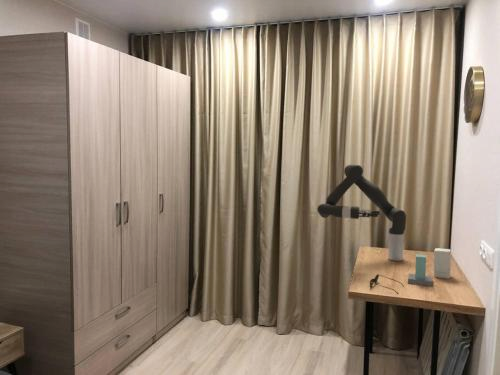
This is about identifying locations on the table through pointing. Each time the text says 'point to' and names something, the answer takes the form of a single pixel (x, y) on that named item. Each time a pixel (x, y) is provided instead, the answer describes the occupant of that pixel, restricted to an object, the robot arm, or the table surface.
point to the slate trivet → (420, 280)
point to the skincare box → (442, 263)
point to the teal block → (420, 266)
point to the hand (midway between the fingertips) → (378, 214)
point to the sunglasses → (374, 281)
